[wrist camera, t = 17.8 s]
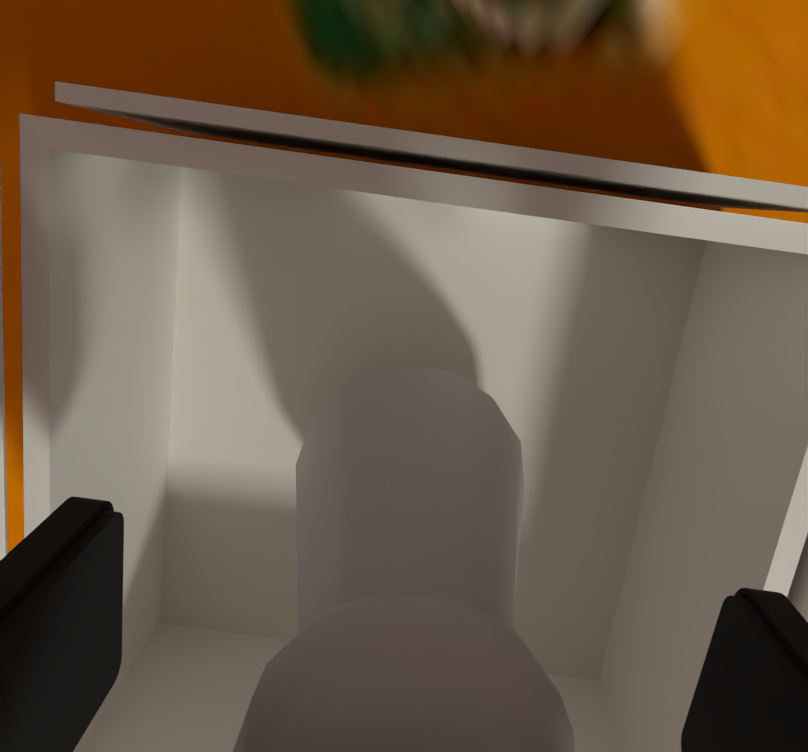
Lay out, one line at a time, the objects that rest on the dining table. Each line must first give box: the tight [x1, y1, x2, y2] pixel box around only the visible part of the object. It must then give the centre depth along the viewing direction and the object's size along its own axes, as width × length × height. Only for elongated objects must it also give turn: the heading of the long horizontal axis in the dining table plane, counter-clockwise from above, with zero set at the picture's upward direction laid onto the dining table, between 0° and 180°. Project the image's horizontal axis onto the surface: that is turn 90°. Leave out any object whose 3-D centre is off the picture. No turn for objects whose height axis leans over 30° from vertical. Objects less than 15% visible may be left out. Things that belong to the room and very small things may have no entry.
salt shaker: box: [233, 365, 575, 752], centre depth 14 cm, size 6×6×13 cm
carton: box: [19, 81, 808, 752], centre depth 17 cm, size 16×16×7 cm
